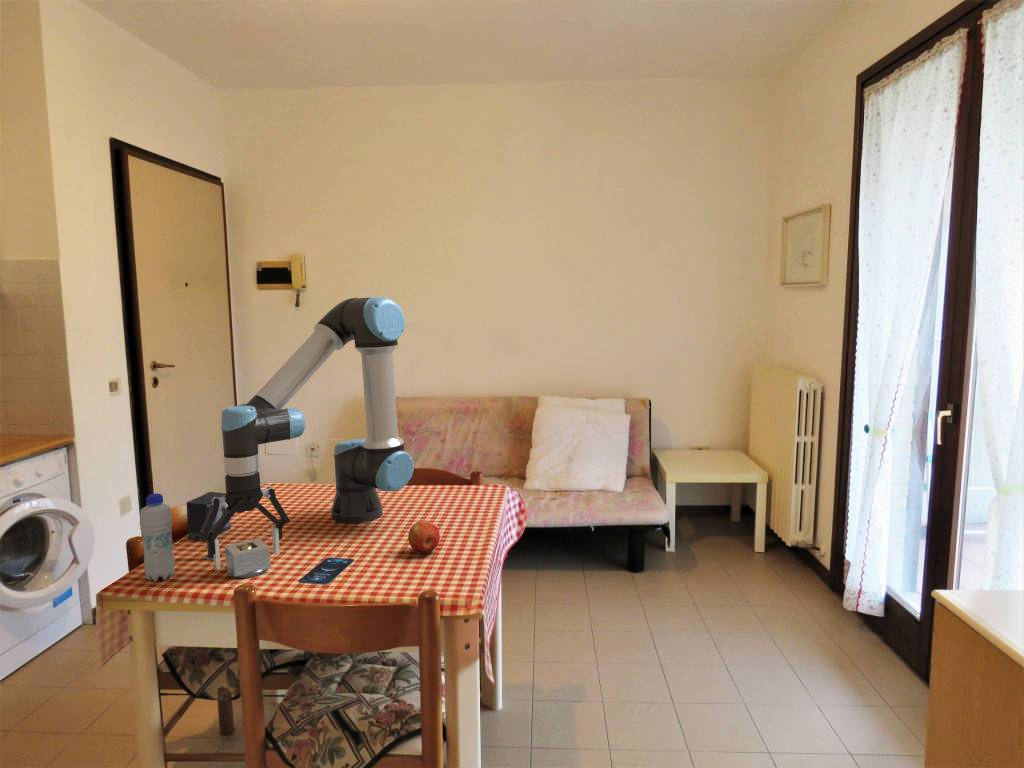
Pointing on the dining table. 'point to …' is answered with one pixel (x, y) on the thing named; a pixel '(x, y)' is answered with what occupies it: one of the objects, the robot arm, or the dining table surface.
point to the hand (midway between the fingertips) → (247, 560)
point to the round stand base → (247, 573)
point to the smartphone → (326, 571)
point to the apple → (423, 537)
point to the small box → (203, 514)
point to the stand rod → (209, 557)
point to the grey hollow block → (247, 557)
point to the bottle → (157, 538)
